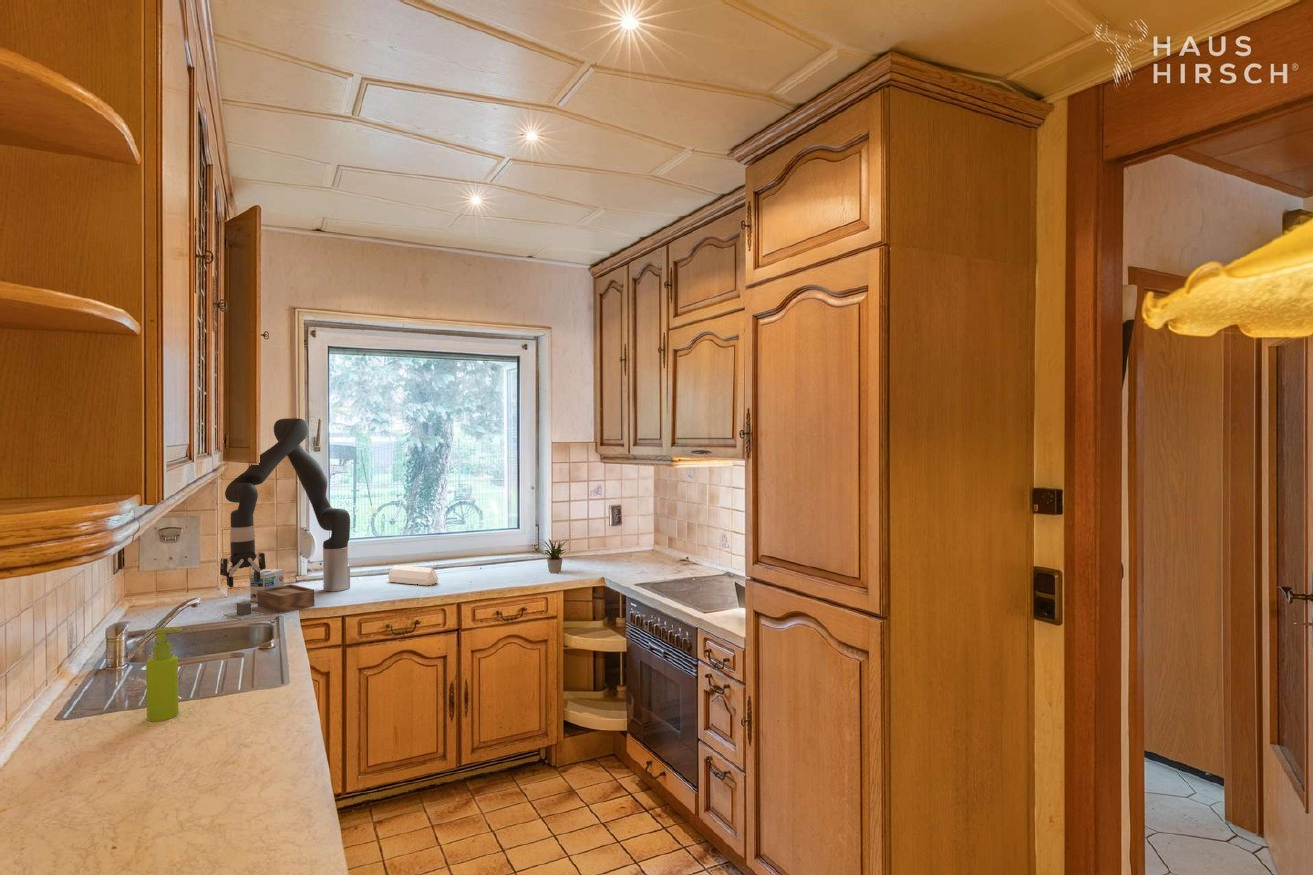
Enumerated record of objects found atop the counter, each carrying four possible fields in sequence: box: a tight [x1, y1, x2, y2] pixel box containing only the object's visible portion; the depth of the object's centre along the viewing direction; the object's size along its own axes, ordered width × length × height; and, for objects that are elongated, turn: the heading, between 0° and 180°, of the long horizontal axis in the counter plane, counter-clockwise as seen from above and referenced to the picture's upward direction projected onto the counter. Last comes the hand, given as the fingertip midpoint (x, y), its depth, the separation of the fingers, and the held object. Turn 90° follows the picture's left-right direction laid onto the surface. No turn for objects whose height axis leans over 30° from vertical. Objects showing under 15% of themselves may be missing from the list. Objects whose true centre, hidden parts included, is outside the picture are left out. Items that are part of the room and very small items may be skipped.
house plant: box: [539, 538, 568, 574], centre depth 322 cm, size 14×14×16 cm
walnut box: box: [256, 583, 315, 614], centre depth 262 cm, size 13×17×6 cm
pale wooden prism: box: [388, 564, 439, 586], centre depth 302 cm, size 7×7×24 cm
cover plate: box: [223, 600, 265, 621], centre depth 250 cm, size 8×12×5 cm, turn 58°
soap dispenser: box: [145, 626, 184, 722], centre depth 161 cm, size 6×7×20 cm
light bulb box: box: [249, 568, 285, 602], centre depth 274 cm, size 11×7×11 cm, turn 168°
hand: (243, 584), depth 250 cm, fingers open, 8 cm apart
